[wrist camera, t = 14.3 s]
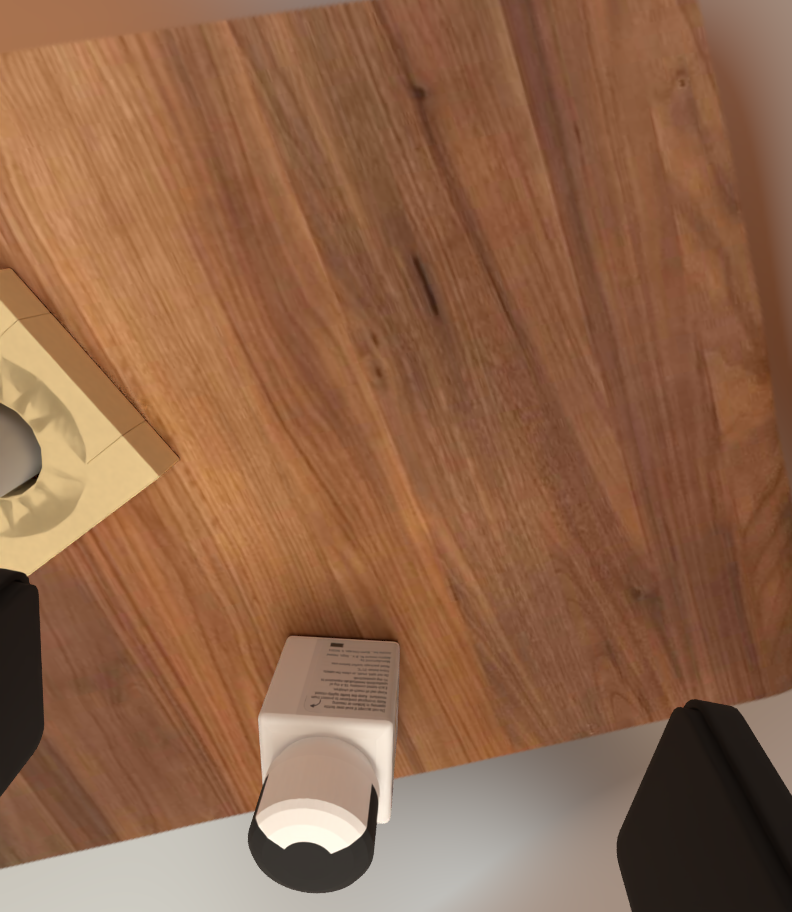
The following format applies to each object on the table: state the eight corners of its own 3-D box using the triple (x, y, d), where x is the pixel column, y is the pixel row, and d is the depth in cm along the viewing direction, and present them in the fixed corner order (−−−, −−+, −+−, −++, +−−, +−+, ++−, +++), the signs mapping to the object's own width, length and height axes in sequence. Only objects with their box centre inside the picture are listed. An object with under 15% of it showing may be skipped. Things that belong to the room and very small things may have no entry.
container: (397, 729, 44) (382, 919, 32) (291, 722, 44) (236, 907, 32) (400, 639, 41) (385, 809, 29) (287, 632, 42) (225, 798, 30)
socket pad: (-135, 407, 38) (-181, 421, 35) (11, 267, 34) (-27, 270, 32) (32, 570, 41) (2, 595, 39) (180, 458, 38) (159, 477, 35)
